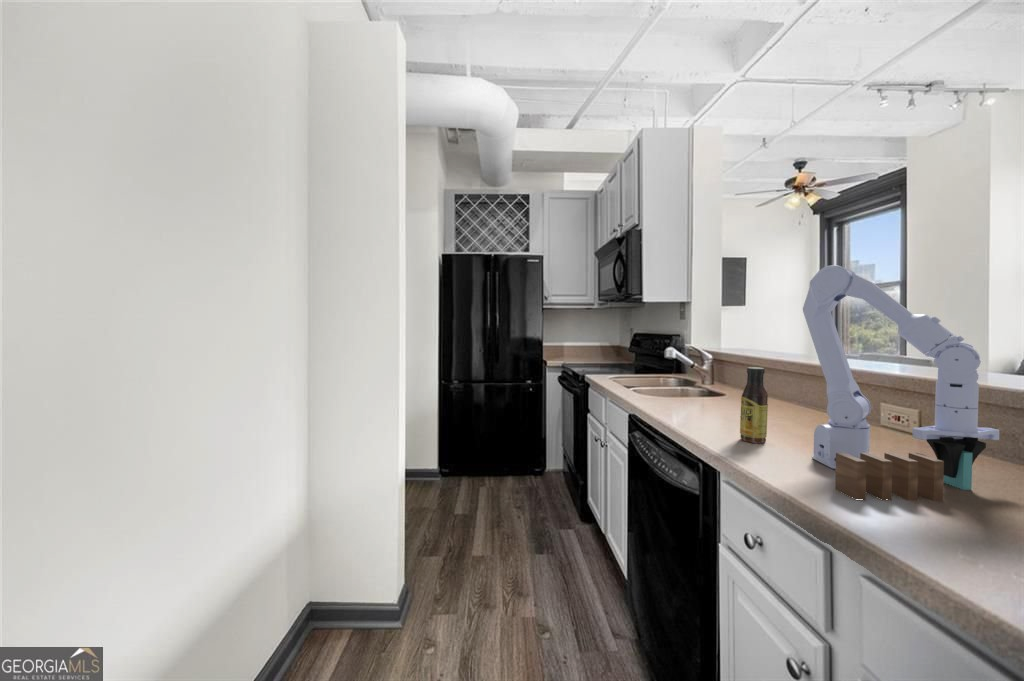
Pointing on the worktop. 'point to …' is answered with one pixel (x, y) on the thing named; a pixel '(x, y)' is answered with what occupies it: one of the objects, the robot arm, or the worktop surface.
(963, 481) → the domino
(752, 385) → the sauce bottle
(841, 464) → the domino
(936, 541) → the worktop surface
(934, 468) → the domino
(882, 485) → the domino
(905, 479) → the domino
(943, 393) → the robot arm
